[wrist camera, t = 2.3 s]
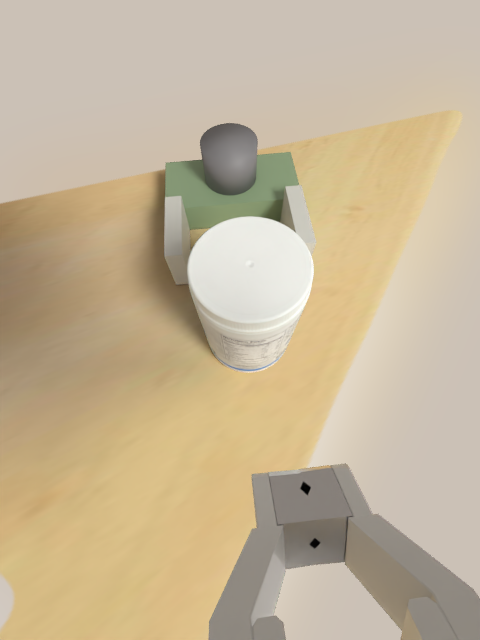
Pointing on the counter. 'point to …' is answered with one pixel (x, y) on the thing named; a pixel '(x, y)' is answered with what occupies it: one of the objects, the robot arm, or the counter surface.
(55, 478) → the counter surface
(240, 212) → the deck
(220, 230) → the supplement tub
